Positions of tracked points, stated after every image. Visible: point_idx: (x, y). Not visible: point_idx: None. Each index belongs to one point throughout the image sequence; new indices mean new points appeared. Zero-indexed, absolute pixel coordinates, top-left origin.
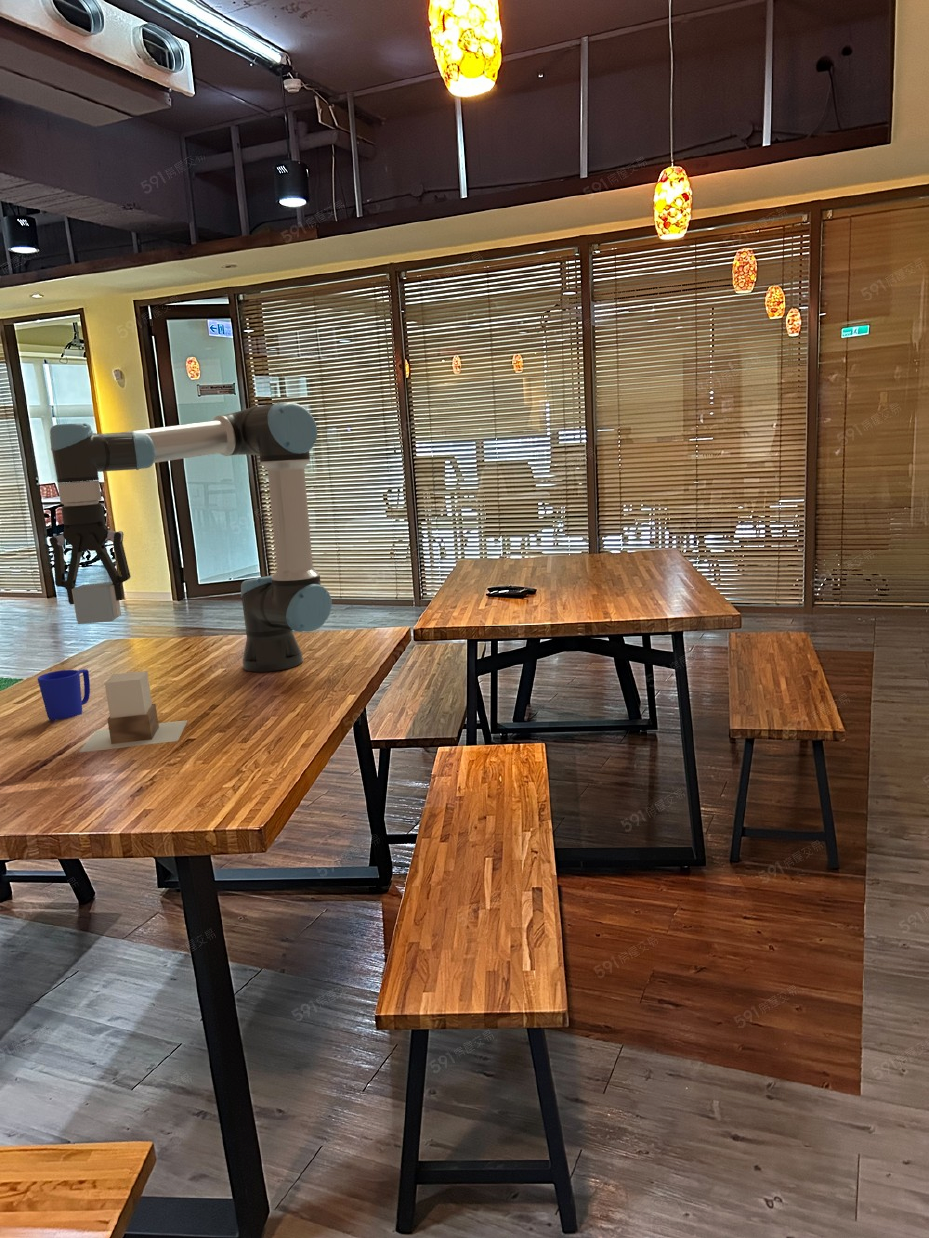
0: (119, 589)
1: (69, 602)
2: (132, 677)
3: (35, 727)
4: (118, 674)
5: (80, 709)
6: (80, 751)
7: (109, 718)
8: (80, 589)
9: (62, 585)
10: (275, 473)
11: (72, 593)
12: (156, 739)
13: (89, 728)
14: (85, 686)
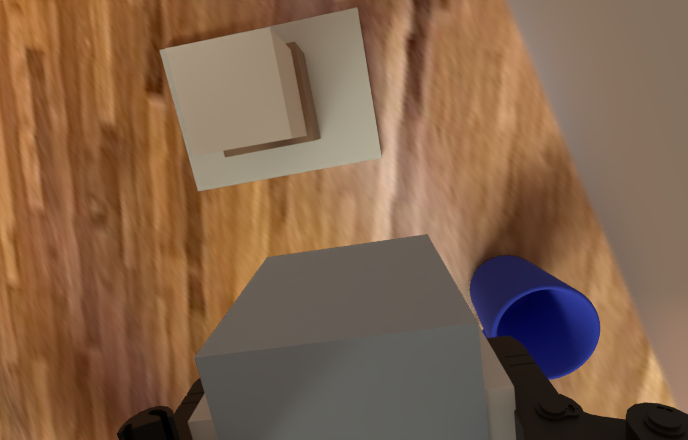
0: (177, 420)
1: (516, 341)
2: (204, 80)
3: (549, 238)
4: (271, 131)
5: (471, 291)
6: (355, 13)
7: (291, 47)
8: (410, 328)
9: (619, 428)
10: None
11: (501, 365)
12: None
13: (418, 207)
14: None
